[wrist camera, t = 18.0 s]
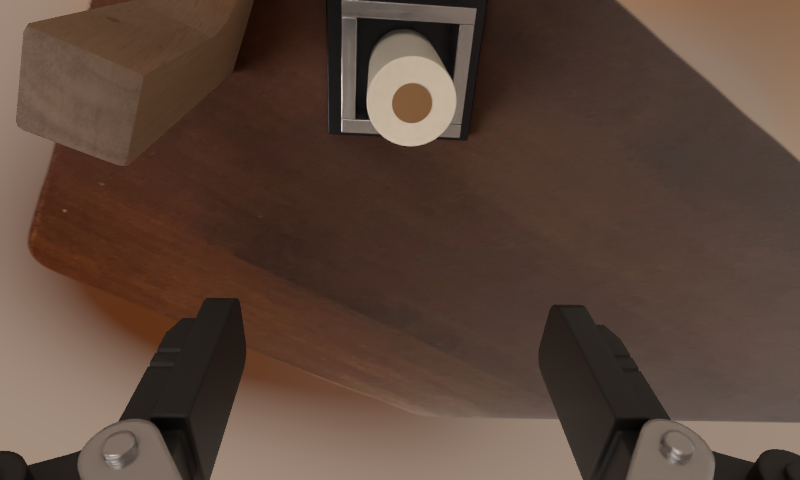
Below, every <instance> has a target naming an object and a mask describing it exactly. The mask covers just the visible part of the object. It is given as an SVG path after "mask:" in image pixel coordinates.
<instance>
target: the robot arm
mask: <svg viewBox="0 0 800 480" xmlns="http://www.w3.org/2000/svg"><path fill="white" fill-rule="evenodd" d="M245 359H246V342H245V335H244V328H243V321H242V314H241V307H240V302H239V300H238V299H237V298H206V299H205V300H204V302H203V304H202V306H201V308H200V311H199V313H198V315H197V317H196V318H183V319H181V320H180V321H179V322H178V323H177V324H176V325H175V326H174V327H172V328H171V329H170V330H169V331H168V332H166V334H165V336H164V338H163V340H162V342H161V343H160V345H159V347H158V349H157V353H155V355H154V357H153V358H152V360H151V362H150V367H148V368H147V370H146V371H145V373H144V375H143V377H142V379H141V381H140V383H139V384H138V386H137V388H136V390H135V392H134V394H133V396H132V397H131V399H130V401H129V403H128V405H127V407H126V409H125V411H124V412H123V414H122V416H121V418H120V420H119V421H118V422H116V423H114V424H112V425H109V426H107V427H106V428H104V429H102V430H101V431H99V432H98V433H97V434H96V435H94V436H93V437H92V438H91V439H90V440H89V441H88V442H87V443H86V445H85V446H84V447H83V449H82V450H80V451H78V452H76V453H72V454H69V455H65V456H62V457H58V458H54V459H51V460H47V461H43V462H39V463H35V464H32V465H28V466H27V464H26V462H25V460H24V459H23V457H22V456H20V455H19V454H17V453H15V452H10V451H0V480H210V477H211V474H212V470H213V467H214V464H215V460H216V457H217V454H218V451H219V448H220V444H221V441H222V438H223V435H224V431H225V428H226V425H227V422H228V418H229V415H230V412H231V409H232V405H233V402H234V399H235V395H236V392H237V389H238V386H239V383H240V379H241V376H242V373H243V370H244V365H245ZM539 367H540V371H541V374H542V376H543V379H544V381H545V384H546V387H547V389H548V392H549V394H550V397H551V399H552V402H553V404H554V407H555V410H556V412H557V415H558V417H559V420H560V422H561V425H562V427H563V430H564V433H565V435H566V437H567V440H568V443H569V445H570V448H571V450H572V453H573V456H574V458H575V461H576V463H577V466H578V468H579V471H580V473H581V476H582V478H583V480H800V456H799V455H797V454H795V453H791V452H789V451H785V450H778V449H772V450H767V451H765V452H763V453H762V454H761V455H760V457H759V458H758V459H757V461H756V462H755V463H753V462H750V461H746V460H742V459H738V458H734V457H731V456H728V455H724V454H720V453H717V452H714V451H711V449H710V448H709V446H708V445H707V443H706V442H705V441H704V440H703V439H702V438H701V437H700V436H699V435H698V434H696V433H695V432H694V431H693V430H691V429H690V428H688V427H686V426H684V425H682V424H680V423H678V422H675V421H671V419H670V418H669V416H668V415H667V413H666V411H665V410H664V408H663V407H662V405H661V403H660V402H659V400H658V399H657V397H656V395H655V394H654V392H653V391H652V389H651V387H650V386H649V384H648V383H647V381H646V379H645V378H644V376H643V375H642V373H641V371H638V367H637V365H636V363H635V362H634V360H633V359H632V358H630V354H629V352H628V351H627V349H626V347H625V346H624V344H623V343H622V341H621V339H620V338H618V337H617V336H616V335H615V334H614V333H613V332H611V331H610V330H609V329H608V328H607V327H605V326H604V325H596V324H595V323H594V321H593V319H592V318H591V316H590V314H589V312H588V311H587V309H586V308H585V307H584V306H583V305H553V306H552V307H551V309H550V311H549V315H548V318H547V322H546V325H545V329H544V333H543V336H542V340H541V343H540V347H539Z"/></svg>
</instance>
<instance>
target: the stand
mask: <svg viewBox="0 0 800 480" xmlns="http://www.w3.org/2000/svg"><path fill="white" fill-rule="evenodd" d="M486 3H487V0H326V10H327V87H328V134H341V135H362V136H382V135H381V134H380V133H379V132H378V131H377V130H376V129H375V127H374V126H373V124H372V122H371V120H370V118H369V115H368V111H367V87H368V72H369V59H370V54H371V52H372V49H373V47H374V45H375V44H376V43H377V41H378V40H379V39H380V38H381V37H382V36H384V35H385V34H387V33H388V32H391V31H393V30H397V29H411V30H414V31H417V32H419V33H421V34H422V35H424V36H425V37H426V38H427V39H428V40H429V41H430V42H431V44H432V45H433V47H434V49H435V51H436V52H437V54H438V56H439V58H440V59H441V61H442V63H443V65H444V66H445V68H446V70H447V72H448V74H449V75H450V77H451V79H452V81H453V83H454V86H455V90H456V96H457V104H456V110H455V114H454V117H453V119H452V121H451V123H450V125H449V126H448V128H447V129H446V130H445V131H444V132H443V133H442V134H441V135H440V136H439V137H437V138H436V139H446V140H467V139H468V132H469V125H470V118H471V111H472V103H473V96H474V89H475V82H476V75H477V68H478V61H479V53H480V46H481V39H482V32H483V25H484V18H485V11H486Z"/></svg>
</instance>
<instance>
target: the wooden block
mask: <svg viewBox="0 0 800 480" xmlns="http://www.w3.org/2000/svg"><path fill="white" fill-rule="evenodd" d="M253 2H254V0H132V1H127V2H123V3H118V4H114V5H109V6H105V7H100V8H96V9H92V10H87V11H83V12H78V13H74V14H69V15H65V16H60V17H56V18H51V19H47V20H43V21H38V22H33V23H29V24H28V25H27V27H26V28H25V30H24V33H23V45H22V57H21V69H20V80H19V92H18V104H17V116H16V122H17V125H18V126H19V127H20V128H21V129H23V130H25V131H27V132H30V133H33V134H35V135H38V136H41V137H43V138H46V139H49V140H51V141H54V142H57V143H60V144H62V145H65V146H68V147H70V148H73V149H76V150H78V151H81V152H84V153H86V154H89V155H92V156H94V157H97V158H100V159H102V160H105V161H108V162H111V163H113V164H116V165H120V166H127V165H129V164H130V163H131V162H132V161H133V160H135V159H136V158H137V157H138V156H139V155H140V154H141V153H142V152H144V151H145V150H146V149H147V148H148V147H149V146H150V145H152V144H153V143H154V142H155V141H156V140H157V139H158V138H159V137H161V136H162V135H163V134H164V133H165V132H166V131H167V130H169V129H170V128H171V127H172V126H173V125H174V124H175V123H176V122H178V121H179V120H180V119H181V118H182V117H183V116H184V115H186V114H187V113H188V112H189V111H190V110H191V109H192V108H194V107H195V106H196V105H197V104H198V103H199V102H200V101H201V100H203V99H204V98H205V97H206V96H207V95H208V94H209V93H210V92H212V91H213V90H214V89H215V88H216V87H217V86H218V85H220V84H221V83H222V82H223V81H224V80H225V79H226V78H228V77H229V76H230V75H231V74H232V73H233V70H234V66H235V63H236V60H237V56H238V53H239V49H240V46H241V43H242V39H243V36H244V33H245V29H246V26H247V22H248V19H249V16H250V12H251V9H252V6H253Z"/></svg>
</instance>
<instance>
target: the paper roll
mask: <svg viewBox="0 0 800 480" xmlns="http://www.w3.org/2000/svg"><path fill="white" fill-rule="evenodd" d="M456 104H457V96H456V90H455V86H454V83H453V81H452V79H451V77H450V75H449V74H448V72H447V70H446V68H445V66H444V65H443V63H442V61H441V59H440V58H439V56H438V54H437V52H436V51H435V49H434V47H433V45H432V44H431V42H430V41H429V40H428V39H427V38H426V37H425V36H424V35H422V34H421V33H419V32H417V31H414V30H411V29H397V30H393V31H391V32H388V33H387V34H385V35H384V36H382V37H381V38H380V39H379V40H378V41H377V43H376V44H375V45H374V47H373V49H372V52H371V54H370V59H369V72H368V87H367V111H368V115H369V118H370V120H371V122H372V124H373V126H374V127H375V129H376V130H377V131H378V132H379V133H380V134H381V135H382V136H383V137H384V138H386V139H387V140H389V141H391V142H393V143H395V144H398V145H402V146H419V145H423V144H426V143H429V142H431V141H433V140H434V139H436V138H437V137H439V136H440V135H441V134H442V133H443V132H444V131H445V130H446V129H447V128H448V126H449V125H450V123H451V121H452V119H453V117H454V114H455V110H456Z"/></svg>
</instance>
